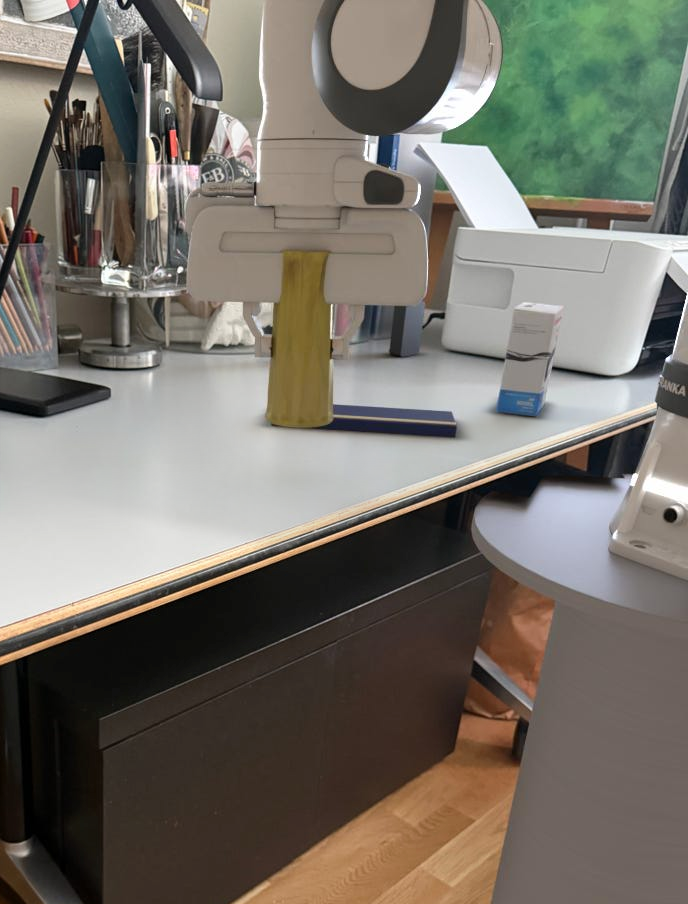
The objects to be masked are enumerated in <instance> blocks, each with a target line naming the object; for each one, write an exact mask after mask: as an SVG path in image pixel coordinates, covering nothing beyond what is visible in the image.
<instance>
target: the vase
mask: <svg viewBox="0 0 688 904" xmlns="http://www.w3.org/2000/svg"><path fill="white" fill-rule="evenodd" d="M280 253H283V271H282V285H281V296H280V300H279V303H272V305H273V308H272V330H271V331H272V332H271V334H272V347H271V350H272V352H271V357H270V359H269V360H270V361H269V362H270V363H269V370H268V371H269V373H268V385H267V386H268V387H267V401H266V402H267V403H266V411H265V417H264V419H265V420H266V421H267V422H268V423H270V424H271V423H272V424H275V425H280V426H279V427H286V428H287V427H288V428H298V429H299V428H304V429H305V427H318V426H323V425H327V424H329V423H331V422H332V421H333V404H334V360H333V359H331V356H332V350H333V348H332V340H333V336H334V333H335V318H336V317H335V316H336V304H328V303H326V301H325V298H324V279H325V270H326V263H327V259H328V256H329V254H331V251H284V250H281V252H280Z"/></svg>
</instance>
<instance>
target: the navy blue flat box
mask: <svg viewBox="0 0 688 904" xmlns="http://www.w3.org/2000/svg"><path fill="white" fill-rule="evenodd" d="M270 425H271V426H273V427H275V426H276V427H281V426H280V425H275V424H272V423H270ZM305 428H306V429H321V430H337V431H338V430H339V431H350V432H351V431H352V432H353V431H354V432H367V433H368V432H369V433H383V434H400V435H415V436H430V437H431V436H432V437H446V438H456V436H457V428H458V424H457V422H456V419H455V417H454V414H453V412H452V411H451V410H449V411H448V410H433V409H432V410H431V409H418V408H401V407H382V406H367V405H351V404H350V405H349V404H337V403H336V404H335V403H333V421H332V422H331V423H329V424H327V425H323V426H318V427H305ZM305 428H304V429H305Z"/></svg>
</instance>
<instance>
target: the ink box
mask: <svg viewBox="0 0 688 904" xmlns="http://www.w3.org/2000/svg"><path fill="white" fill-rule="evenodd" d="M564 308H565V307H564V306H563V305H556V304H546V303H538V302H537V303H536V302H528V301H526V302H525V301H523V302H522V303H520V304H518V305H516V306H514V307H513V311H512V315H511V322H510V328H509V329H510V330H509V334H508V339H507V346H506V351H505V352H506V353H505V358H504V363H503V370H502V374H501V380H500V381H501V382H500V386H499V392H498V397H497V403H496V409H495V412H496V413H504V414H512V415H519V416H520V415H521V416H529V417H537V416H538V414H539V413H540V411H541V409H542V408H543V407H544V405H545V404H546V400H547V393H548V388H549V384H550V379H551V374H552V369H553V364H554V358H555V353H556V348H557V343H558V337H559V332H560V326H561V323H562V318H563V314H564V313H563V312H564Z"/></svg>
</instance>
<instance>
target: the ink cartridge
mask: <svg viewBox="0 0 688 904" xmlns="http://www.w3.org/2000/svg"><path fill="white" fill-rule="evenodd" d="M425 310H426V301H424V299H423V300H422V301H421V302H420V303H419V304H418V305H416V306H393V315H392V323H391V325H392V326H391V334H390V342H389V349H388V353H389V355H390V356H395V357H399V358H406V357H409V356H410V357H411V356H415V355H418V354H419V353H420V349H421V341H422V340H421V339H422V333H423V325H424V317H425Z"/></svg>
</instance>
